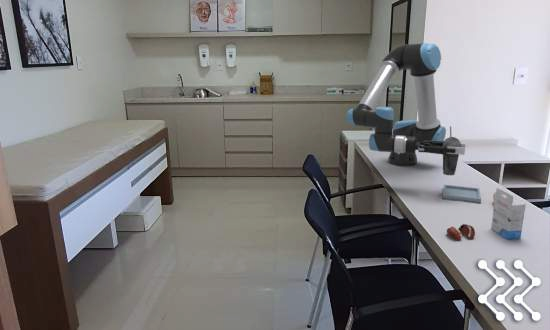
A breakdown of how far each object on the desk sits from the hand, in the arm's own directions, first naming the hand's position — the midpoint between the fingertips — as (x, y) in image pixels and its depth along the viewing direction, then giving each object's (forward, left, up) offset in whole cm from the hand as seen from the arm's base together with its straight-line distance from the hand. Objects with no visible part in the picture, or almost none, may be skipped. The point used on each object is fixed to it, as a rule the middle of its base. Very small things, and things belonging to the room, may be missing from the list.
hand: (464, 149), depth 158 cm
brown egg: (+7, +12, -19) cm, 23 cm away
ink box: (+34, +14, -20) cm, 41 cm away
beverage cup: (0, -5, -11) cm, 12 cm away
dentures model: (+41, 0, -20) cm, 46 cm away
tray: (0, +1, -20) cm, 20 cm away
